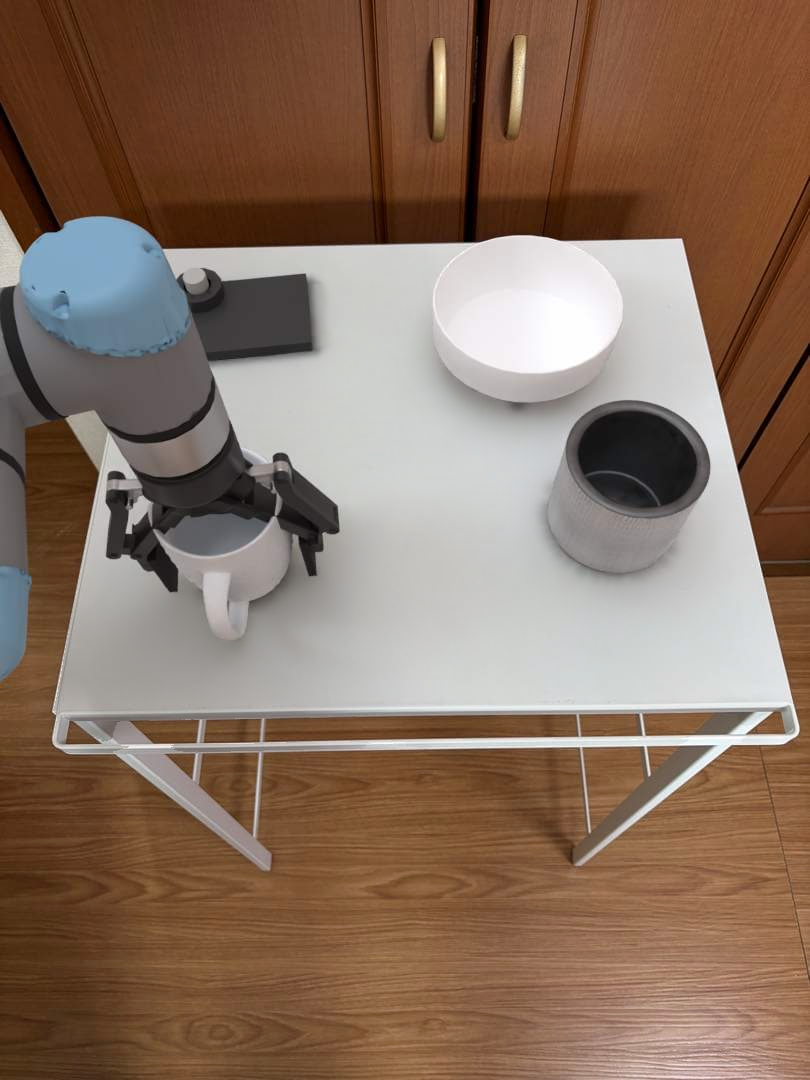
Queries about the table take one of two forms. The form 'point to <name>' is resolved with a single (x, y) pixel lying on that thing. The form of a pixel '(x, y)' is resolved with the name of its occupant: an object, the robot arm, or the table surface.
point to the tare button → (195, 281)
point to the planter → (626, 485)
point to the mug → (229, 560)
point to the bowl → (525, 317)
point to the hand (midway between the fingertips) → (243, 571)
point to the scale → (251, 316)
